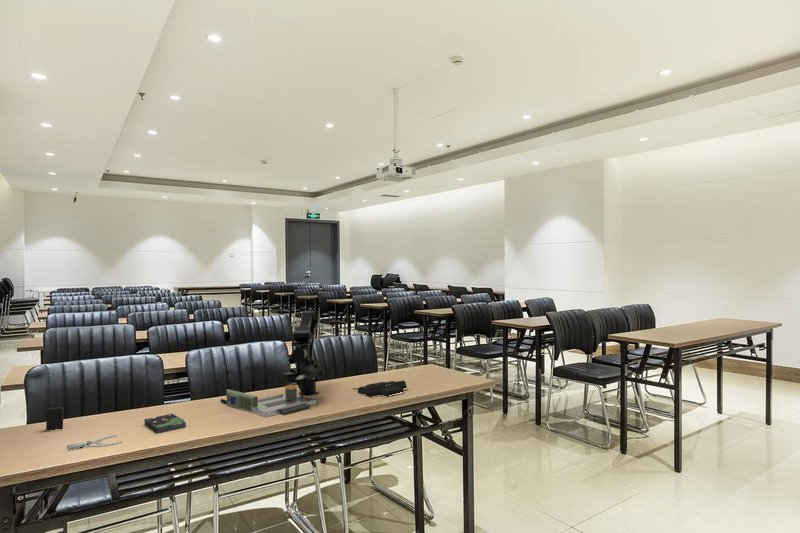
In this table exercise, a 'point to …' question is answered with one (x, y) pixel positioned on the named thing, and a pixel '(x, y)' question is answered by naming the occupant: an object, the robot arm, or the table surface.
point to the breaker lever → (291, 392)
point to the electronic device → (382, 388)
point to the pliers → (84, 444)
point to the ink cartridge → (54, 418)
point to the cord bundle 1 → (294, 407)
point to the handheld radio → (240, 400)
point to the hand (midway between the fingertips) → (302, 393)
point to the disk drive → (165, 423)
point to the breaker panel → (278, 405)
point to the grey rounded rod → (270, 397)
